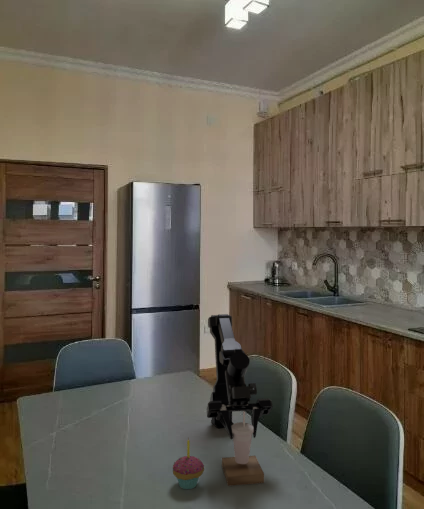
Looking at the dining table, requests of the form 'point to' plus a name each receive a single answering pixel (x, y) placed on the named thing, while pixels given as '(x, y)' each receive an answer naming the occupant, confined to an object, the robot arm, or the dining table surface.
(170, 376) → the dining table surface
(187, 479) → the cupcake
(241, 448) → the smoothie
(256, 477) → the plinth
